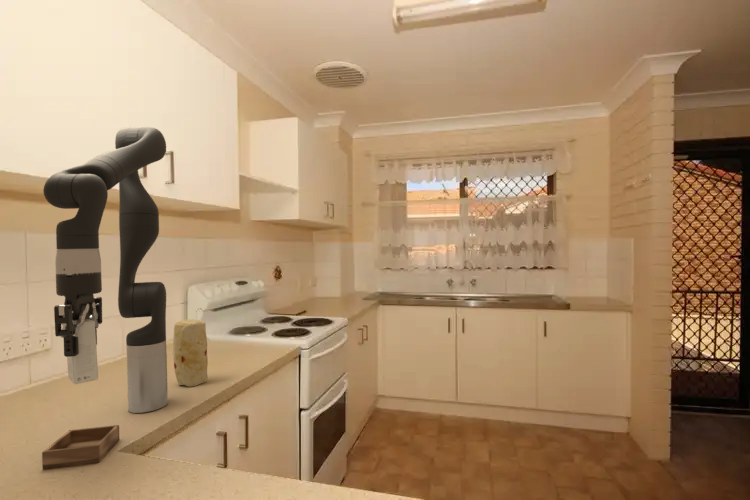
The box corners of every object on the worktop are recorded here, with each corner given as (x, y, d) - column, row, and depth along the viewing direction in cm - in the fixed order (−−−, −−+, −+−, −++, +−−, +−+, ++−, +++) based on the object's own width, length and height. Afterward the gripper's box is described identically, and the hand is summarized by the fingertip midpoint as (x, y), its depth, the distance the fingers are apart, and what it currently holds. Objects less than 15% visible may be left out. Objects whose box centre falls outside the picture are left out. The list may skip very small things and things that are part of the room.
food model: (209, 379, 127) (208, 317, 127) (206, 386, 121) (204, 320, 121) (176, 382, 125) (175, 319, 125) (171, 389, 119) (169, 323, 119)
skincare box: (99, 379, 81) (97, 320, 81) (72, 385, 78) (70, 324, 78) (92, 373, 85) (90, 317, 85) (66, 379, 82) (64, 320, 82)
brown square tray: (69, 445, 85) (69, 430, 85) (119, 439, 87) (119, 424, 87) (42, 469, 76) (42, 452, 76) (98, 462, 78) (98, 445, 78)
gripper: (76, 270, 88) (78, 344, 88) (36, 273, 74) (38, 362, 74) (114, 268, 89) (116, 342, 89) (81, 272, 75) (84, 359, 75)
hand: (81, 351), depth 82 cm, fingers closed on skincare box, 7 cm apart
